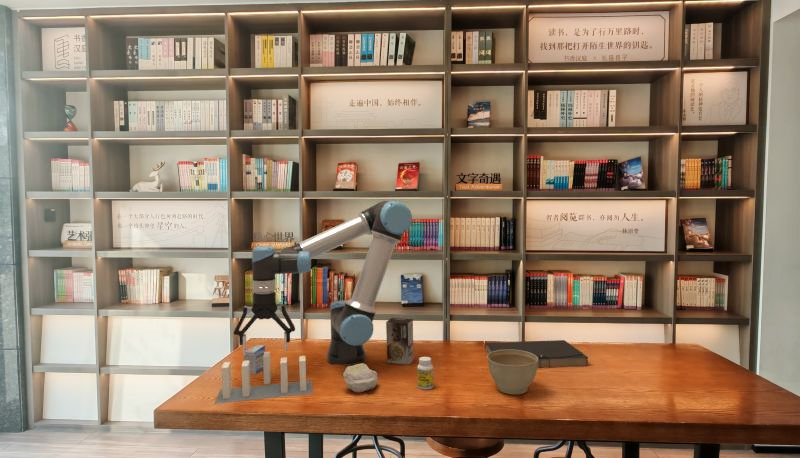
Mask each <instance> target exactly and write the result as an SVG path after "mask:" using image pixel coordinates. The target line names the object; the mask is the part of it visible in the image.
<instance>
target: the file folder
mask: <svg viewBox="0 0 800 458" xmlns="http://www.w3.org/2000/svg"><path fill="white" fill-rule="evenodd" d="M484 349H485V351H486V352H487V353H488V354H489V353H491V352H493V351H497V350H509V349H511V350H521V351H526V352H529V353H532V354H534V355H536V356H537V357H538V363H537V368H552V367H553V368H555V367H573V366H574V367H582V366H583V367H585V366H587V367H588V366H589V356H587V355H586V354H584V353H583V352H582V351H581V350H580V349H578V348H576V347H574V346H573V345H572V344H571V343H569V342H567V341H566V340H564V339H561V340H560V339H557V340H555V339H554V340H531V341H529V340H528V341H526V340H525V341H504V342H503V341H501V342H500V341H499V342H496V341H495V342H485V343H484Z"/></svg>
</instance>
